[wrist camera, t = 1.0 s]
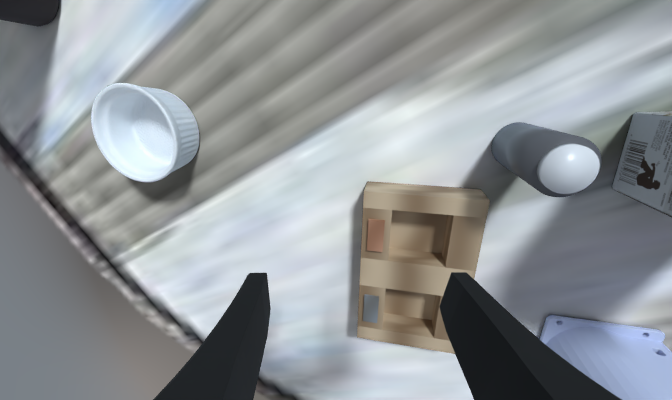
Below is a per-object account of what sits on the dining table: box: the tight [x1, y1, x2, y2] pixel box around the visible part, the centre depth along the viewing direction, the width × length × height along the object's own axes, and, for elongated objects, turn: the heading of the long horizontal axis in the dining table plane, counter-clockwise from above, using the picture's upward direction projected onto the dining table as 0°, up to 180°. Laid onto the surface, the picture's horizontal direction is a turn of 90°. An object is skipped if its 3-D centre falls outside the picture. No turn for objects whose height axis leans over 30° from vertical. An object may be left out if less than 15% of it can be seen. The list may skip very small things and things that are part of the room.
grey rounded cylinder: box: [491, 122, 602, 197], centre depth 20 cm, size 4×4×9 cm
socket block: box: [357, 182, 490, 354], centre depth 28 cm, size 10×16×3 cm, turn 179°
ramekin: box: [91, 83, 199, 182], centre depth 29 cm, size 9×9×4 cm
